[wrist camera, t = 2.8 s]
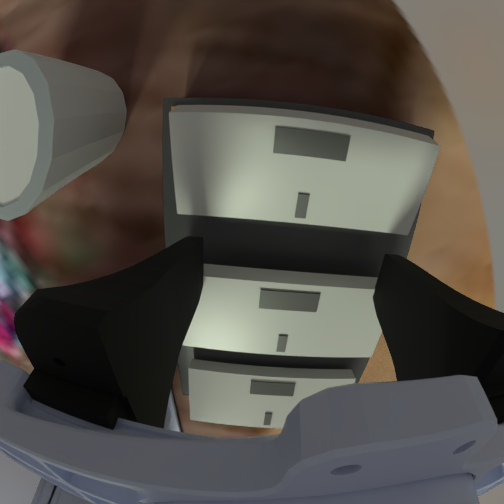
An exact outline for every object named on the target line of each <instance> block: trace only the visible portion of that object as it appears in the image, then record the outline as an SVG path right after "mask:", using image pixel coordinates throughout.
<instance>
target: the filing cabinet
mask: <svg viewBox="0 0 504 504" xmlns="http://www.w3.org/2000/svg"><path fill="white" fill-rule="evenodd" d="M177 105H232V106H252V107H266V108H278V109H288V110H297V111H306V112H314V113H321V114H328V115H334V116H341V117H347V118H352V119H358V120H363V121H368V122H373V123H378V124H383V125H387V126H391V127H396V128H400V129H404V130H408V131H412V132H416V133H420V134H423V135H427V136H429V137H431V138H432V139H433V137H434V131H433V130H430V129H427V128H423V127H419V126H416V125H412V124H408V123H404V122H400V121H396V120H392V119H388V118H383V117H379V116H374V115H369V114H364V113H359V112H354V111H349V110H343V109H337V108H331V107H324V106H317V105H309V104H301V103H293V102H283V101H272V100H258V99H241V98H164V104H163V207H164V229H165V246H166V248H167V247H169V246H171V245H172V244H174V243H176V242H177V241H179V240H181V239H183V238H184V237H187V236H194V237H203V262H204V264H214V265H225V266H236V267H248V268H260V269H272V270H284V271H296V272H309V273H322V274H335V275H349V276H363V277H377V278H378V276H379V272H380V269H381V266H382V262H383V259H384V255H385V254H394V255H400V256H402V257H404V258H406V259H407V255H408V252H409V248H410V245H411V241H412V238H413V234H414V230H415V227H416V223H417V219H418V215H419V211H420V207H419V209H418V212H417V214H416V217H415V219H414V222H413V224H412V227H411V229H410V231H409V234H408V235H401V234H393V233H385V232H376V231H367V230H358V229H349V228H340V227H330V226H321V225H310V224H300V223H289V222H278V221H267V220H255V219H242V218H229V217H216V216H201V215H186V214H177V206H176V197H175V187H174V177H173V166H172V154H171V140H170V126H169V112H170V111H171V110H172V109H174V108H175V107H176V106H177ZM420 206H421V204H420ZM369 358H370V357H307V356H286V355H270V354H257V353H245V352H235V351H225V350H216V349H207V348H199V347H191V346H184V345H182V347H181V350H180V353H179V357H178V368H179V374H180V380H181V386H182V392H183V395H189V374H188V368H189V365H190V363H191V360H192V359H197V360H205V361H213V362H222V363H231V364H242V365H253V366H266V367H282V368H304V369H352V371H353V373H354V375H355V378H356V380H355V383H358V382H359V380H360V378H361V376H362V374H363V371H364V369H365V367H366V365H367V363H368V360H369Z"/></svg>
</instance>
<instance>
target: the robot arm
mask: <svg viewBox="0 0 504 504" xmlns="http://www.w3.org/2000/svg"><path fill="white" fill-rule="evenodd" d="M203 275H204V262H203V237H194V236H187V237H184V238H183V239H181V240H179V241H177V242H176V243H174V244H172V245H171V246H169V247H167V248H166V249H164V250H162V251H160V252H159V253H157V254H155V255H153V256H151V257H149V258H148V259H146V260H144V261H142V262H140V263H138V264H136V265H134V266H132V267H129V268H127V269H124V270H122V271H119V272H117V273H114V274H111V275H108V276H104V277H101V278H98V279H95V280H91V281H87V282H83V283H78V284H73V285H68V286H62V287H53V288H45V289H37V290H36V291H35V292H34V293H33V294H32V295H31V296H30V297H29V299H28V300H27V301H26V302H25V303H24V304H23V305H22V306H21V307H20V308H19V310H18V311H17V312H16V313H15V317H14V325H15V331H16V334H17V336H18V339H19V341H20V343H21V345H22V347H23V349H24V351H25V353H26V354H27V356H28V358H29V360H30V362H31V364H32V365H33V367H34V370H33V371H32V373H31V374H30V375H29V374H28V373H27V372H26V371H24V370H22V369H21V368H19V367H16V366H14V365H12V364H10V363H8V362H6V361H4V360H0V451H1V452H2V453H4V454H5V455H6V456H7V457H9V458H11V459H12V460H14V461H15V462H17V463H18V464H20V465H22V466H23V467H25V468H27V469H28V470H30V471H31V472H33V473H35V474H37V475H38V476H40V477H42V478H41V480H40V482H39V485H38V487H37V490H36V493H35V496H34V498H33V501H32V503H31V504H479V499H478V496H480V495H481V494H484V493H486V492H488V491H489V490H491V489H493V488H495V487H497V486H499V485H501V484H502V483H504V313H502V312H499V311H497V310H494V309H492V308H489V307H487V306H485V305H483V304H480V303H478V302H476V301H474V300H472V299H470V298H468V297H466V296H465V295H463V294H461V293H459V292H457V291H456V290H454V289H452V288H451V287H449V286H448V285H446V284H444V283H443V282H441V281H440V280H438V279H437V278H435V277H434V276H432V275H431V274H429V273H428V272H426V271H425V270H423V269H422V268H420V267H419V266H417V265H416V264H414V263H412V262H411V261H409V260H407V259H406V258H404V257H402V256H400V255H394V254H385V255H384V259H383V262H382V266H381V269H380V272H379V276H378V279H377V282H376V285H375V291H374V295H373V302H374V307H375V311H376V315H377V318H378V321H379V324H380V326H381V329H382V332H383V335H384V337H385V340H386V343H387V346H388V348H389V351H390V354H391V357H392V360H393V364H394V367H395V372H396V377H397V381H393V382H373V383H353V384H347V385H341V386H335V387H329V388H326V389H324V390H322V391H319V392H317V393H315V394H313V395H311V396H309V397H306V398H304V399H302V400H301V401H300V402H299V403H298V404H297V405H296V406H295V407H294V409H293V410H292V411H291V412H290V413H289V414H288V415H287V417H286V420H285V423H284V426H283V429H282V432H281V433H280V434H278V435H267V436H256V437H240V438H216V437H209V436H202V435H195V434H189V433H183V432H181V429H180V425H179V421H178V416H177V412H176V408H175V403H174V399H173V394H172V389H171V387H172V382H173V377H174V373H175V369H176V365H177V361H178V357H179V353H180V350H181V347H182V344H183V342H184V339H185V337H186V334H187V332H188V329H189V327H190V324H191V322H192V319H193V317H194V314H195V312H196V309H197V306H198V304H199V301H200V297H201V293H202V288H203Z"/></svg>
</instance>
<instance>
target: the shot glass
mask: <svg viewBox="0 0 504 504" xmlns="http://www.w3.org/2000/svg"><path fill="white" fill-rule="evenodd" d="M126 115H127V109H126V104H125V100H124V95H123V92H122V90H121V89H120V87H119V86H118V85H117V83H116V82H115V80H114V79H113V78H111V77H110V76H108V75H106V74H104V73H102V72H100V71H97V70H94V69H91V68H87V67H84V66H81V65H77V64H74V63H70V62H66V61H63V60H59V59H55V58H51V57H47V56H43V55H39V54H34V53H30V52H25V51H20V50H11V51H7V52H4V53H0V219H3V220H7V221H9V220H12V219H14V218H17V217H19V216H22V215H24V214H26V213H28V212H29V211H30V210H32V209H33V208H34V207H36V206H37V205H38V204H40V203H41V202H42V201H44V200H45V199H46V198H48V197H49V196H50V195H52V194H53V193H55V192H56V191H58V190H59V189H60V188H62V187H63V186H65V185H66V184H68V183H69V182H71V181H72V180H74V179H75V178H77V177H78V176H80V175H81V174H83V173H84V172H86V171H88V170H89V169H91V168H92V167H94V166H96V165H97V164H99V163H101V162H102V161H103V160H104V159H105V158H107V157H108V156H109V155H110V154H111V153H112V152H113V151H114V150H115V149H116V147H117V145H118V143H119V141H120V139H121V137H122V135H123V133H124V130H125V122H126Z"/></svg>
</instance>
